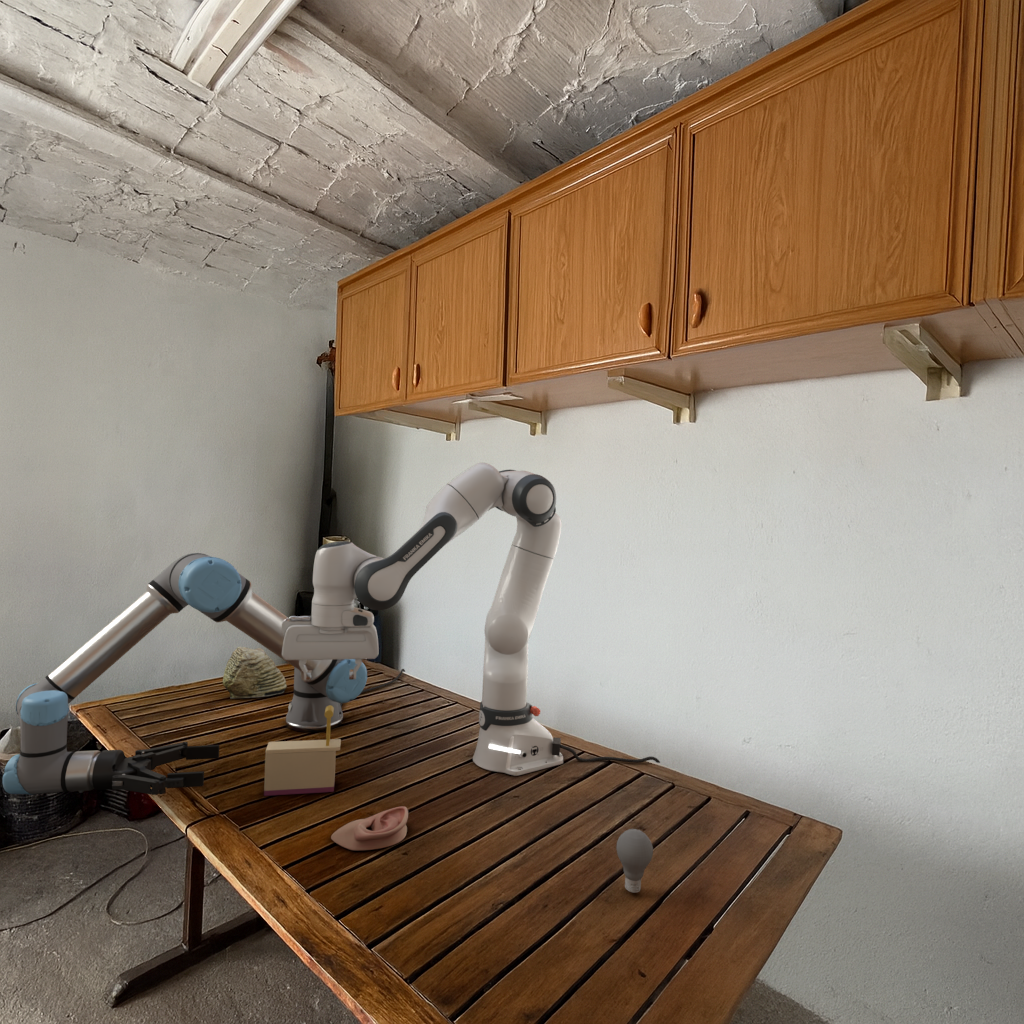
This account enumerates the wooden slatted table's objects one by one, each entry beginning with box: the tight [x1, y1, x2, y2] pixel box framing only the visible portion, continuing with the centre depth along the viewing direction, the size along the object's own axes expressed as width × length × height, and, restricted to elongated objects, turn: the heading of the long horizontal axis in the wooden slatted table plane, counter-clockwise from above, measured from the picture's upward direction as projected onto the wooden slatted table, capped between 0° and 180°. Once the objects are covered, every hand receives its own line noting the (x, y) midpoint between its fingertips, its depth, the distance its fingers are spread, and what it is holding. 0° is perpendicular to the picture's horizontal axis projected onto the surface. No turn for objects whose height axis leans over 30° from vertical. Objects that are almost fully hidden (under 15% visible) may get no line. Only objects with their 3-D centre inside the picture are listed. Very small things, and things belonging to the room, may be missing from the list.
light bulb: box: [615, 828, 654, 894], centre depth 106 cm, size 6×6×10 cm
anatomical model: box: [330, 805, 409, 852], centre depth 119 cm, size 13×4×12 cm
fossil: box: [222, 646, 288, 699], centre depth 198 cm, size 9×18×15 cm, turn 132°
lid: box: [265, 705, 342, 755], centre depth 137 cm, size 15×4×9 cm, turn 103°
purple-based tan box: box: [263, 751, 337, 797], centre depth 137 cm, size 14×5×9 cm, turn 103°
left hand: (211, 764), depth 133 cm, fingers open, 13 cm apart
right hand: (330, 679), depth 138 cm, fingers open, 8 cm apart
